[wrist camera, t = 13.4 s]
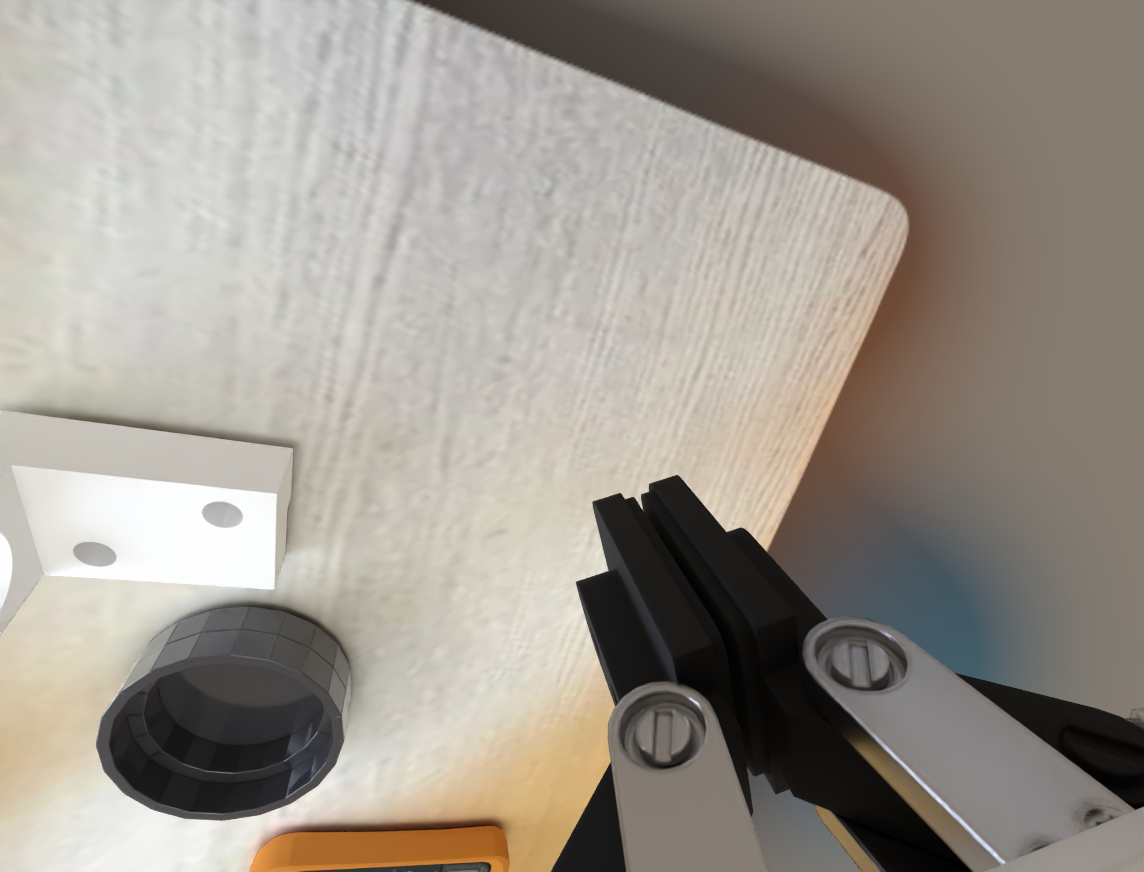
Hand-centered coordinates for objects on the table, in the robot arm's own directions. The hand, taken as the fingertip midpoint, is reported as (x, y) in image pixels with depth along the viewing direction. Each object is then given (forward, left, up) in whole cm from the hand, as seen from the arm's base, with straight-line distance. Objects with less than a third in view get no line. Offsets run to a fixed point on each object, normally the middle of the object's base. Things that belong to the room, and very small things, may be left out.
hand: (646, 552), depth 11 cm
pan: (+17, -22, -23) cm, 36 cm away
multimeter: (+37, -21, -23) cm, 49 cm away
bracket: (+4, -20, -23) cm, 31 cm away
